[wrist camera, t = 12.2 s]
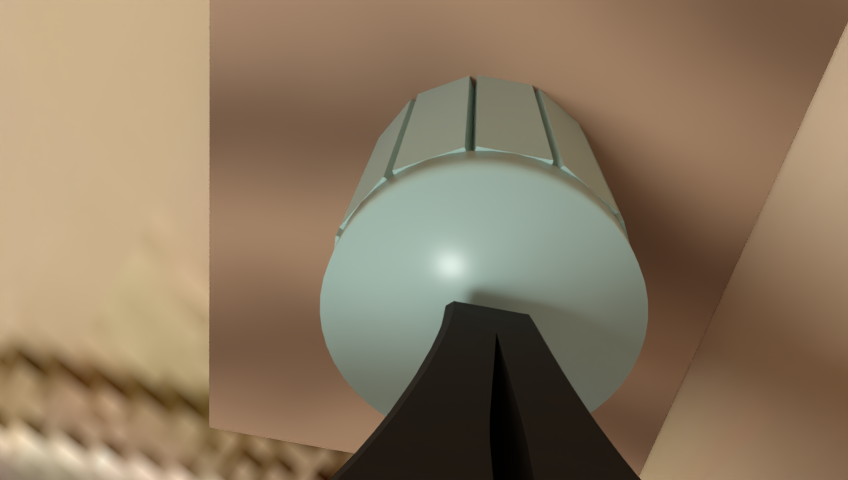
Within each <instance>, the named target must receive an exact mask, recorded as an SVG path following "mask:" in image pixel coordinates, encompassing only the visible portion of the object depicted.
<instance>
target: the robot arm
mask: <svg viewBox="0 0 848 480" xmlns="http://www.w3.org/2000/svg"><path fill="white" fill-rule="evenodd" d="M330 480H641V479H640V478H639V477H638V476H637V474H636V473H635V472H634V471H633V470H632V468H631V467H630V466H629V465H628V463H627V462H626V461H625V460H624V458H623V457H622V456H621V455H620V453H619V452H618V451H617V449H616V448H615V447H614V445H613V444H612V443H611V441H610V440H609V439H608V437H607V436H606V435H605V433H604V432H603V431H602V429H601V428H600V427H599V425H598V424H597V422H596V421H595V419H594V418H593V417H592V415H591V414H590V412H589V411H588V409H587V408H586V406H585V405H584V403H583V402H582V400H581V399H580V397H579V396H578V394H577V393H576V391H575V390H574V388H573V387H572V385H571V383H570V382H569V380H568V379H567V377H566V375H565V374H564V372H563V371H562V369H561V367H560V366H559V364H558V362H557V361H556V359H555V357H554V356H553V354H552V352H551V351H550V349H549V347H548V345H547V344H546V342H545V340H544V339H543V337H542V335H541V333H540V332H539V330H538V328H537V326H536V325H535V323H534V321H533V320H532V318H531V317H530V315H529V314H523V313H518V312H512V311H507V310H501V309H496V308H490V307H485V306H479V305H474V304H468V303H463V302H457V301H453V302H451V303H449V304H448V305H446V306H445V311H444V315H443V320H442V325H441V327H440V330H439V332H438V334H437V337H436V339H435V341H434V343H433V345H432V347H431V349H430V351H429V352H428V354H427V356H426V357H425V359H424V361H423V363H422V364H421V366H420V368H419V370H418V371H417V373H416V375H415V376H414V378H413V379H412V381H411V382H410V384H409V385H408V387H407V388H406V389H405V391H404V392H403V394H402V395H401V396H400V398H399V399H398V401H397V402H396V403H395V405H394V406H393V408H392V409H391V411H390V412H389V413H388V414H387V416H386V417H385V418H384V420H383V421H382V422H381V423H380V425H379V426H378V427H377V428H376V429H375V431H374V432H373V433H372V434H371V436H370V437H369V438H368V439H367V440H366V441H365V442H364V444H363V445H362V446H361V447H360V448H359V449H358V450H357V452H356V453H355V454H354V455H353V456H352V457H351V458H350V459H349V460H348V461H347V462H346V463H345V464H344V465H343V466H342V467H341V468H340V469H339V470H338V471H337V473H336V474H335V475H334V476H333V477H332V478H331V479H330Z"/></svg>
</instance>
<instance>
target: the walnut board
mask: <svg viewBox="0 0 848 480" xmlns="http://www.w3.org/2000/svg"><path fill="white" fill-rule="evenodd" d="M847 22H848V0H210V307H209V427H210V428H216V429H221V430H227V431H233V432H238V433H244V434H249V435H255V436H260V437H266V438H272V439H277V440H283V441H288V442H294V443H299V444H305V445H311V446H316V447H322V448H327V449H333V450H339V451H344V452H350V453H356V452H357V450H358V449H359V448H360V447H361V446H362V445H363V444H364V442H365V441H366V440H367V439H368V438H369V437H370V436H371V434H372V433H373V432H374V431H375V429H376V428H377V427H378V426H379V425H380V423H381V422H382V421H383V420H384V418H385V417H386V416H384V415H383V414H381V413H380V412H379V411H377V410H376V409H375V408H373V407H372V406H371V405H369V404H368V403H367V402H366V401H365V400H364V399H363V398H361V397H360V396H359V395H358V394H357V393H356V392H355V391H354V390H353V388H352V387H351V386H350V385H349V384H348V382H347V381H346V380H345V379H344V378H343V376H342V374H341V373H340V371H339V370H338V368H337V366H336V365H335V363H334V361H333V359H332V357H331V355H330V353H329V350H328V348H327V345H326V342H325V338H324V335H323V332H322V326H321V318H320V294H321V289H322V283H323V278H324V275H325V272H326V269H327V267H328V264H329V261H330V258H331V256H332V254H333V251H334V246H335V237H336V234H337V232H338V229H339V227H340V225H341V223H342V220H343V218H344V216H345V214H346V211H347V209H348V207H349V204H350V202H351V200H352V198H353V195H354V193H355V191H356V189H357V186H358V184H359V182H360V180H361V177H362V175H363V173H364V170H365V168H366V166H367V164H368V161H369V159H370V157H371V155H372V152H373V150H374V148H375V145H376V143H377V141H378V139H379V137H380V136H381V135H382V133H383V132H384V131H385V130H386V129H387V127H388V126H389V125H390V124H391V123H392V121H393V120H394V119H395V118H396V117H397V115H398V114H399V113H400V112H401V110H402V109H403V108H404V107H405V106H406V104H407V103H408V102H409V101H410V100H411V98H412V99H413V100H414V101H416V98H417V96H418V94H419V93H422V92H425V91H428V90H430V89H433V88H436V87H439V86H442V85H444V84H447V83H450V82H453V81H456V80H459V79H461V78H464V77H467V76H470V78H471V81H472V84H473V87H474V90H475V86H476V81H477V76H478V75H481V76H486V77H492V78H497V79H502V80H508V81H513V82H519V83H524V84H530V85H532V86H533V90H534V93H536V92H537V91H538V90H539V89H541V90H542V91H543V92H544V93H545V94H546V95H547V96H548V97H550V98H551V99H552V100H553V101H554V102H555V103H556V104H557V105H559V106H560V107H561V108H562V109H563V110H564V111H565V112H566V113H568V114H569V115H570V116H571V117H572V118H573V119H574V120H575V121H577V122H578V123H579V125H580V127H581V129H582V130H583V131H584V133H585V136H586V138H587V140H588V142H589V145H590V147H591V149H592V151H593V154H594V156H595V158H596V160H597V162H598V165H599V167H600V169H601V171H602V174H603V176H604V178H605V180H606V182H607V185H608V187H609V189H610V191H611V194H612V196H613V198H614V200H615V202H616V205H617V207H618V209H619V211H620V214H621V216H622V218H623V220H624V224H625V227H626V231H627V235H628V239H629V243H630V245H631V248H632V250H633V252H634V255H635V257H636V259H637V261H638V264H639V267H640V270H641V272H642V275H643V278H644V281H645V286H646V292H647V298H648V323H647V329H646V335H645V339H644V342H643V345H642V348H641V352H640V354H639V356H638V358H637V360H636V362H635V364H634V366H633V368H632V370H631V372H630V373H629V374H628V376H627V377H626V379H625V380H624V382H623V383H622V385H621V386H620V387H619V388H618V389H617V390H616V391H615V392H614V393H613V394H612V396H611V397H610V398H609V399H607V400H606V401H605V402H604V403H603V404H602V405H600V406H599V407H598V408H597V409H596V410H594V411H593V412H591V413H590V414H591V415H592V417H593V418H594V419H595V421H596V422H597V424H598V425H599V427H600V428H601V429H602V431H603V432H604V433H605V435H606V436H607V437H608V439H609V440H610V441H611V443H612V444H613V445H614V447H615V448H616V449H617V451H618V452H619V453H620V455H621V456H622V457H623V458H624V460H625V461H626V462H627V463H628V465H629V466H630V467H631V468H632V470H633V471H634V472H635V473H636V474H637V476H638V477H639V475H640V472H641V470H642V468H643V466H644V464H645V462H646V459H647V457H648V455H649V453H650V451H651V449H652V446H653V444H654V442H655V440H656V438H657V435H658V433H659V431H660V429H661V427H662V425H663V422H664V420H665V418H666V416H667V414H668V412H669V409H670V407H671V405H672V403H673V401H674V398H675V396H676V394H677V392H678V390H679V388H680V385H681V383H682V381H683V379H684V377H685V375H686V372H687V370H688V368H689V366H690V364H691V361H692V359H693V357H694V355H695V353H696V351H697V348H698V346H699V344H700V342H701V340H702V338H703V335H704V333H705V331H706V329H707V327H708V324H709V322H710V320H711V318H712V316H713V314H714V311H715V309H716V307H717V305H718V303H719V301H720V298H721V296H722V294H723V292H724V290H725V287H726V285H727V283H728V281H729V279H730V277H731V274H732V272H733V270H734V268H735V266H736V264H737V261H738V259H739V257H740V255H741V253H742V250H743V248H744V246H745V244H746V242H747V240H748V237H749V235H750V233H751V231H752V229H753V226H754V224H755V222H756V220H757V218H758V216H759V213H760V211H761V209H762V207H763V205H764V203H765V200H766V198H767V196H768V194H769V192H770V189H771V187H772V185H773V183H774V181H775V179H776V176H777V174H778V172H779V170H780V168H781V166H782V163H783V161H784V159H785V157H786V155H787V152H788V150H789V148H790V146H791V144H792V142H793V139H794V137H795V135H796V133H797V131H798V129H799V126H800V124H801V122H802V120H803V118H804V115H805V113H806V111H807V109H808V107H809V105H810V102H811V100H812V98H813V96H814V94H815V92H816V89H817V87H818V85H819V83H820V81H821V78H822V76H823V74H824V72H825V70H826V68H827V65H828V63H829V61H830V59H831V57H832V55H833V52H834V50H835V48H836V46H837V44H838V41H839V39H840V37H841V35H842V33H843V31H844V28H845V26H846V24H847Z"/></svg>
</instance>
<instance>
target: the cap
mask: <svg viewBox="0 0 848 480" xmlns="http://www.w3.org/2000/svg"><path fill="white" fill-rule="evenodd" d="M453 301H457V302H463V303H468V304H474V305H479V306H485V307H490V308H496V309H501V310H507V311H512V312H518V313H523V314H529V315H530V317H531V318H532V320H533V321H534V323H535V325H536V326H537V328H538V330H539V332H540V333H541V335H542V337H543V339H544V340H545V342H546V344H547V345H548V347H549V349H550V351H551V352H552V354H553V356H554V357H555V359H556V361H557V362H558V364H559V366H560V367H561V369H562V371H563V372H564V374H565V375H566V377H567V379H568V380H569V382H570V383H571V385H572V387H573V388H574V390H575V391H576V393H577V394H578V396H579V397H580V399H581V400H582V402H583V403H584V405H585V406H586V408H587V409H588V411H589V412H590V413H591V412H593V411H594V410H596V409H597V408H598V407H599V406H600V405H602V404H603V403H604V402H605V401H606V400H607V399H609V398H610V397H611V396H612V394H613V393H614V392H615V391H616V390H617V389H618V388H619V387H620V386H621V385H622V383H623V382H624V380H625V379H626V377H627V376H628V374H629V373H630V372H631V370H632V368H633V366H634V364H635V362H636V360H637V358H638V356H639V354H640V352H641V348H642V345H643V342H644V339H645V335H646V329H647V323H648V298H647V292H646V286H645V281H644V278H643V275H642V272H641V270H640V267H639V264H638V261H637V259H636V257H635V255H634V252H633V250H632V248H631V245H630V243H629V239H628V235H627V231H626V227H625V224H624V220H623V218H622V216H621V214H620V211H619V209H618V207H617V205H616V202H615V200H614V198H613V196H612V194H611V191H610V189H609V187H608V185H607V182H606V180H605V178H604V176H603V174H602V171H601V169H600V167H599V165H598V162H597V160H596V158H595V156H594V154H593V151H592V149H591V147H590V145H589V142H588V140H587V138H586V136H585V133H584V131H583V130H582V129H581V127H580V125H579V123H578V122H577V121H575V120H574V119H573V118H572V117H571V116H570V115H569V114H568V113H566V112H565V111H564V110H563V109H562V108H561V107H560V106H559V105H557V104H556V103H555V102H554V101H553V100H552V99H551V98H550V97H548V96H547V95H546V94H545V93H544V92H543V91H542V90H541V89H539V90H538V91H537V92H536V93H534V90H533V86H532V85H530V84H524V83H519V82H513V81H508V80H502V79H497V78H492V77H486V76H481V75H478V76H477V81H476V86H475V90H474V87H473V84H472V81H471V78H470V76H467V77H464V78H461V79H459V80H456V81H453V82H450V83H447V84H444V85H442V86H439V87H436V88H433V89H430V90H428V91H425V92H422V93H419V94H418V96H417V98H416V101H414V100H413V99H412V98H411V100H410V101H409V102H408V103H407V104H406V106H405V107H404V108H403V109H402V110H401V112H400V113H399V114H398V115H397V117H396V118H395V119H394V120H393V121H392V123H391V124H390V125H389V126H388V127H387V129H386V130H385V131H384V132H383V133H382V135H381V136H380V137H379V139H378V141H377V143H376V145H375V148H374V150H373V152H372V155H371V157H370V159H369V161H368V164H367V166H366V168H365V170H364V173H363V175H362V177H361V180H360V182H359V184H358V186H357V189H356V191H355V193H354V195H353V198H352V200H351V202H350V204H349V207H348V209H347V211H346V214H345V216H344V218H343V220H342V223H341V225H340V227H339V229H338V232H337V234H336V237H335V246H334V251H333V254H332V256H331V258H330V261H329V264H328V267H327V269H326V272H325V275H324V278H323V283H322V289H321V294H320V318H321V326H322V332H323V335H324V338H325V342H326V345H327V348H328V350H329V353H330V355H331V357H332V359H333V361H334V363H335V365H336V366H337V368H338V370H339V371H340V373H341V374H342V376H343V378H344V379H345V380H346V381H347V382H348V384H349V385H350V386H351V387H352V388H353V390H354V391H355V392H356V393H357V394H358V395H359V396H360V397H361V398H363V399H364V400H365V401H366V402H367V403H368V404H369V405H371V406H372V407H373V408H375V409H376V410H377V411H379V412H380V413H381V414H383V415H384V416H387V414H388V413H389V412H390V411H391V409H392V408H393V406H394V405H395V403H396V402H397V401H398V399H399V398H400V396H401V395H402V394H403V392H404V391H405V389H406V388H407V387H408V385H409V384H410V382H411V381H412V379H413V378H414V376H415V375H416V373H417V371H418V370H419V368H420V366H421V364H422V363H423V361H424V359H425V357H426V356H427V354H428V352H429V351H430V349H431V347H432V345H433V343H434V341H435V339H436V337H437V334H438V332H439V330H440V327H441V325H442V320H443V315H444V311H445V306H446V305H448V304H449V303H451V302H453Z"/></svg>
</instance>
